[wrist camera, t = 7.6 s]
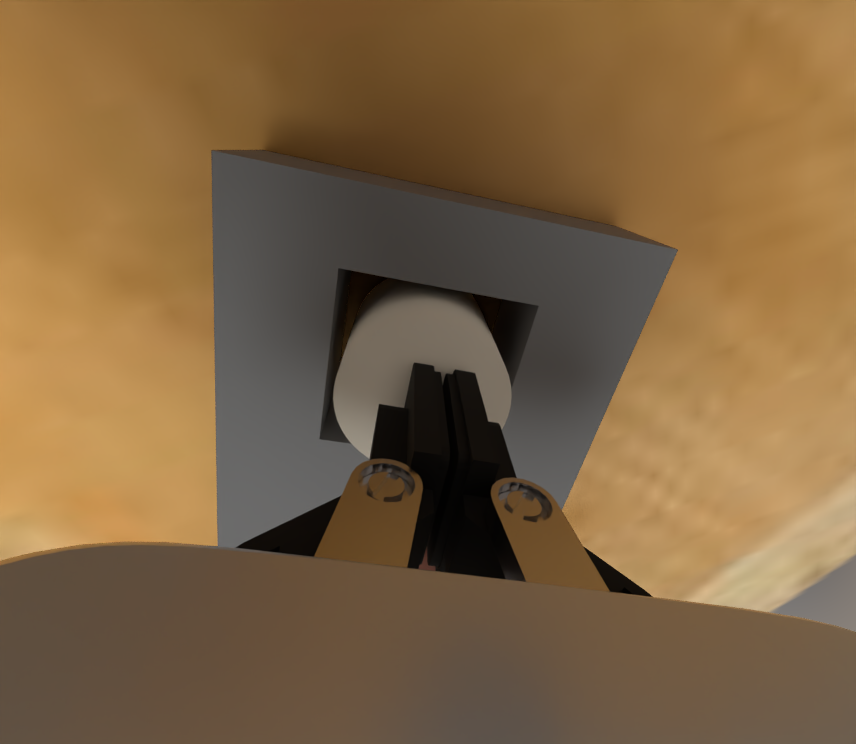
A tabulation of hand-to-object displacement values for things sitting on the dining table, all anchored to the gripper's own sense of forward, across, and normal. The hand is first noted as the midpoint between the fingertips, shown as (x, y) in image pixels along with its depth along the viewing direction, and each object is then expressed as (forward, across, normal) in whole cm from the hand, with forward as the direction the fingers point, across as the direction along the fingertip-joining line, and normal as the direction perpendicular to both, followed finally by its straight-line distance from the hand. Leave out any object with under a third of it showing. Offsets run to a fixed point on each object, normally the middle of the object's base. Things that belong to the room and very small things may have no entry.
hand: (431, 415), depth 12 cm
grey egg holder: (+6, 0, +9) cm, 10 cm away
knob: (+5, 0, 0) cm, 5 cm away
